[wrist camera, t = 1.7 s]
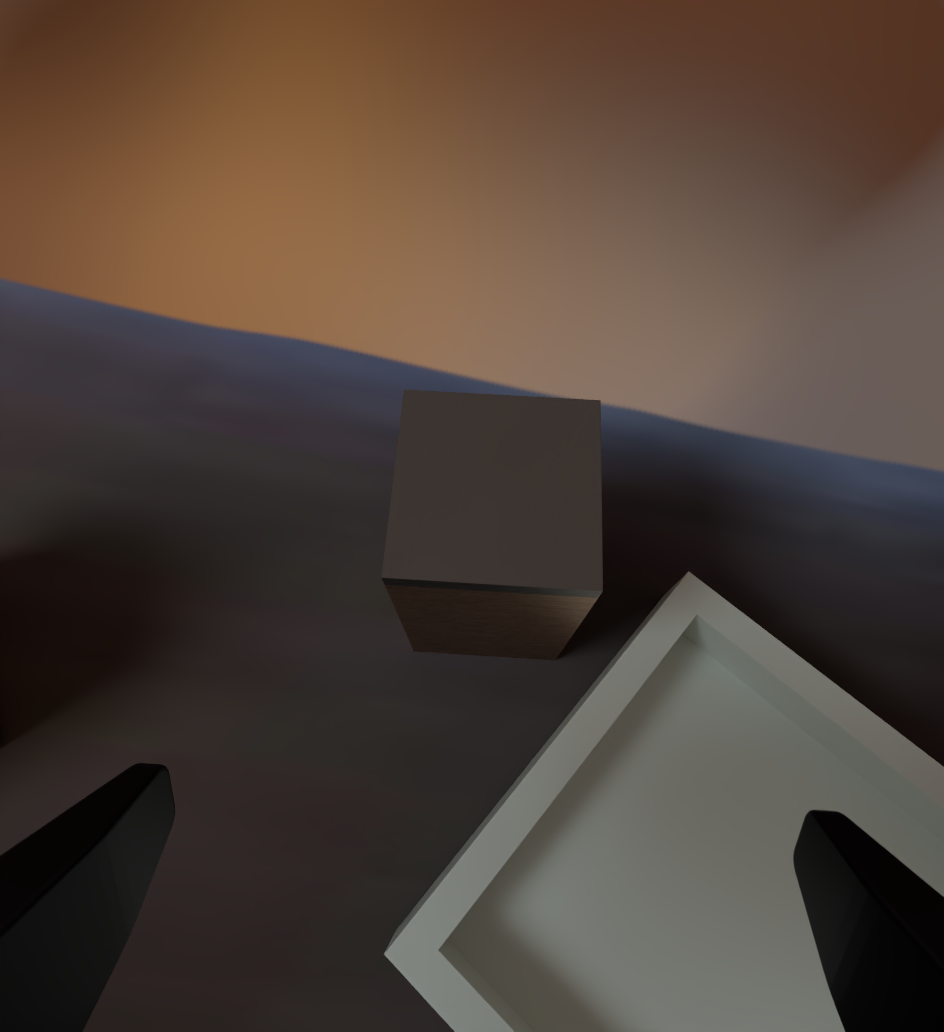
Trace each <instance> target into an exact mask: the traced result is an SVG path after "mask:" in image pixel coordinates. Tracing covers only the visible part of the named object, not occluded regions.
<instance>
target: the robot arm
mask: <svg viewBox="0 0 944 1032" xmlns="http://www.w3.org/2000/svg"><path fill="white" fill-rule="evenodd" d="M174 816H175V804H174V798H173V792H172V786H171V781H170V775H169V771H168V769H167V767H166V766H164V765H161V764H146V763H138V764H135V765H133V766H131V767H129V768H128V769H126V770H125V771H124V772H122V773H121V774H119V775H118V776H116V777H115V778H113V779H112V780H110V781H109V782H107V783H106V784H104V785H103V786H102V787H100V788H99V789H97V790H96V791H94V792H93V793H91V794H90V795H88V796H87V797H85V798H84V799H82V800H81V801H79V802H78V803H77V804H75V805H74V806H72V807H71V808H69V809H68V810H66V811H65V812H63V813H62V814H60V815H59V816H57V817H56V818H55V819H53V820H52V821H50V822H49V823H47V824H46V825H44V826H43V827H41V828H40V829H38V830H37V831H35V832H34V833H32V834H31V835H30V836H28V837H27V838H25V839H24V840H22V841H21V842H19V843H18V844H16V845H15V846H13V847H12V848H10V849H9V850H8V851H6V852H5V853H3V854H2V855H0V1032H82V1031H83V1029H84V1027H85V1025H86V1023H87V1021H88V1019H89V1017H90V1015H91V1013H92V1011H93V1009H94V1007H95V1005H96V1003H97V1001H98V999H99V997H100V995H101V993H102V991H103V989H104V987H105V985H106V983H107V981H108V979H109V977H110V975H111V973H112V971H113V969H114V967H115V965H116V963H117V961H118V959H119V957H120V955H121V953H122V951H123V949H124V946H125V944H126V942H127V940H128V938H129V936H130V933H131V931H132V928H133V926H134V923H135V921H136V919H137V916H138V913H139V911H140V908H141V906H142V903H143V900H144V898H145V895H146V893H147V890H148V887H149V885H150V882H151V880H152V877H153V874H154V872H155V869H156V867H157V864H158V861H159V859H160V856H161V854H162V851H163V849H164V846H165V843H166V841H167V838H168V836H169V833H170V830H171V828H172V825H173V821H174ZM793 864H794V870H795V873H796V877H797V880H798V884H799V887H800V891H801V894H802V898H803V901H804V905H805V909H806V912H807V916H808V919H809V923H810V926H811V930H812V933H813V937H814V940H815V944H816V947H817V951H818V954H819V958H820V961H821V965H822V968H823V971H824V975H825V978H826V981H827V984H828V988H829V991H830V993H831V996H832V999H833V1001H834V1004H835V1007H836V1010H837V1012H838V1015H839V1017H840V1020H841V1023H842V1025H843V1028H844V1030H845V1032H944V897H943V896H942V895H941V894H940V893H938V892H937V891H936V890H935V889H934V888H932V887H931V886H930V885H929V884H928V883H926V882H925V881H924V880H923V879H921V878H920V877H919V876H918V875H917V874H915V873H914V872H913V871H912V870H911V869H909V868H908V867H907V866H906V865H905V864H903V863H902V862H901V861H900V860H899V859H897V858H896V857H895V856H894V855H893V854H891V853H890V852H889V851H888V850H887V849H885V848H884V847H883V846H882V845H881V844H879V843H878V842H877V841H876V840H875V839H873V838H872V837H871V836H870V835H868V834H867V833H866V832H865V831H864V830H862V829H861V828H860V827H859V826H858V825H856V824H855V823H854V822H853V821H852V820H850V819H849V818H848V817H847V816H845V815H844V814H842V813H840V812H837V811H827V810H810V811H809V812H808V813H807V814H806V816H805V818H804V821H803V824H802V827H801V830H800V833H799V836H798V839H797V842H796V845H795V848H794V853H793Z"/></svg>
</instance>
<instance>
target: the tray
mask: <svg viewBox="0 0 944 1032" xmlns="http://www.w3.org/2000/svg"><path fill="white" fill-rule="evenodd" d="M810 810H827V811H837V812H840V813H842V814H844V815H845V816H847V817H848V818H849V819H850V820H852V821H853V822H854V823H855V824H856V825H858V826H859V827H860V828H861V829H862V830H864V831H865V832H866V833H867V834H868V835H870V836H871V837H872V838H873V839H875V840H876V841H877V842H878V843H879V844H881V845H882V846H883V847H884V848H885V849H887V850H888V851H889V852H890V853H891V854H893V855H894V856H895V857H896V858H897V859H899V860H900V861H901V862H902V863H903V864H905V865H906V866H907V867H908V868H909V869H911V870H912V871H913V872H914V873H915V874H917V875H918V876H919V877H920V878H921V879H923V880H924V881H925V882H926V883H928V884H929V885H930V886H931V887H932V888H934V889H935V890H936V891H937V892H938V893H940V894H941V895H942V896H943V897H944V767H943V766H942V765H941V764H939V763H938V762H937V761H935V760H934V759H933V758H931V757H930V756H929V755H928V754H926V753H925V752H924V751H922V750H921V749H920V748H918V747H917V746H916V745H914V744H913V743H912V742H911V741H909V740H908V739H907V738H905V737H904V736H903V735H901V734H900V733H899V732H898V731H896V730H895V729H894V728H892V727H891V726H890V725H888V724H887V723H886V722H884V721H883V720H882V719H881V718H879V717H878V716H877V715H875V714H874V713H873V712H871V711H870V710H869V709H868V708H866V707H865V706H864V705H862V704H861V703H860V702H858V701H857V700H856V699H854V698H853V697H852V696H851V695H849V694H848V693H847V692H845V691H844V690H843V689H841V688H840V687H839V686H838V685H836V684H835V683H834V682H832V681H831V680H830V679H828V678H827V677H826V676H824V675H823V674H822V673H821V672H819V671H818V670H817V669H815V668H814V667H813V666H811V665H810V664H809V663H808V662H806V661H805V660H804V659H802V658H801V657H800V656H798V655H797V654H796V653H794V652H793V651H792V650H791V649H789V648H788V647H787V646H785V645H784V644H783V643H781V642H780V641H779V640H778V639H776V638H775V637H774V636H772V635H771V634H770V633H768V632H767V631H766V630H764V629H763V628H762V627H761V626H759V625H758V624H757V623H755V622H754V621H753V620H751V619H750V618H749V617H747V616H746V615H745V614H744V613H742V612H741V611H740V610H738V609H737V608H736V607H734V606H733V605H732V604H731V603H729V602H728V601H727V600H725V599H724V598H723V597H721V596H720V595H719V594H717V593H716V592H715V591H714V590H712V589H711V588H710V587H708V586H707V585H706V584H704V583H703V582H702V581H701V580H699V579H698V578H697V577H695V576H694V575H693V574H691V573H690V572H687V573H686V574H685V575H684V576H683V577H682V578H681V579H680V580H679V581H678V582H677V583H676V584H675V585H674V586H673V587H672V588H671V589H670V590H669V591H668V592H667V593H666V594H665V595H664V596H663V597H662V598H661V599H660V601H659V602H658V603H657V604H656V606H655V607H654V608H653V609H652V611H651V612H650V613H649V614H648V616H647V617H646V618H645V619H644V621H643V622H642V623H641V624H640V626H639V627H638V628H637V629H636V631H635V632H634V633H633V634H632V636H631V637H630V638H629V639H628V641H627V642H626V643H625V644H624V646H623V647H622V648H621V649H620V651H619V652H618V653H617V654H616V656H615V657H614V658H613V659H612V661H611V662H610V663H609V664H608V666H607V667H606V668H605V669H604V671H603V672H602V673H601V674H600V676H599V677H598V678H597V679H596V681H595V682H594V683H593V684H592V686H591V687H590V688H589V689H588V691H587V692H586V693H585V694H584V696H583V697H582V698H581V699H580V701H579V702H578V703H577V704H576V706H575V707H574V708H573V709H572V711H571V712H570V713H569V714H568V716H567V717H566V718H565V719H564V721H563V722H562V723H561V724H560V726H559V727H558V728H557V729H556V731H555V732H554V733H553V734H552V736H551V737H550V738H549V739H548V741H547V742H546V743H545V744H544V746H543V747H542V748H541V749H540V751H539V752H538V753H537V754H536V756H535V757H534V758H533V759H532V761H531V762H530V763H529V764H528V766H527V767H526V768H525V769H524V771H523V772H522V773H521V774H520V776H519V777H518V778H517V779H516V781H515V782H514V783H513V784H512V786H511V787H510V788H509V789H508V791H507V792H506V793H505V794H504V796H503V797H502V798H501V799H500V801H499V802H498V803H497V804H496V806H495V807H494V808H493V809H492V811H491V812H490V813H489V814H488V816H487V817H486V818H485V819H484V821H483V822H482V823H481V824H480V826H479V827H478V828H477V829H476V831H475V832H474V833H473V834H472V836H471V837H470V838H469V839H468V841H467V842H466V843H465V844H464V846H463V847H462V848H461V849H460V851H459V852H458V853H457V855H456V856H455V857H454V858H453V860H452V861H451V862H450V863H449V865H448V866H447V867H446V868H445V870H444V871H443V872H442V873H441V875H440V876H439V877H438V878H437V880H436V881H435V882H434V883H433V885H432V886H431V887H430V888H429V890H428V891H427V892H426V893H425V895H424V896H423V897H422V898H421V900H420V901H419V902H418V903H417V905H416V906H415V907H414V908H413V910H412V911H411V912H410V913H409V915H408V916H407V917H406V918H405V920H404V921H403V922H402V923H401V925H400V926H399V927H398V928H397V930H396V931H395V933H394V935H393V937H392V939H391V941H390V943H389V945H388V947H387V949H386V951H385V953H384V955H385V956H386V957H387V958H388V959H389V960H390V961H391V962H392V963H393V964H394V966H395V967H396V968H397V969H398V970H399V971H400V972H401V973H402V974H403V975H404V977H405V978H406V979H407V980H408V981H409V982H410V983H411V984H412V985H413V986H414V987H415V989H416V990H417V991H418V992H419V993H420V994H421V995H422V996H423V997H424V998H425V1000H426V1001H427V1002H428V1003H429V1004H430V1005H431V1006H432V1007H433V1008H434V1009H435V1010H436V1012H437V1013H438V1014H439V1015H440V1016H441V1017H442V1018H443V1019H444V1020H445V1021H446V1023H447V1024H448V1025H449V1026H450V1027H451V1028H452V1029H453V1030H454V1031H455V1032H845V1030H844V1028H843V1025H842V1023H841V1020H840V1017H839V1015H838V1012H837V1010H836V1007H835V1004H834V1001H833V999H832V996H831V993H830V991H829V988H828V984H827V981H826V978H825V975H824V971H823V968H822V965H821V961H820V958H819V954H818V951H817V947H816V944H815V940H814V937H813V933H812V930H811V926H810V923H809V919H808V916H807V912H806V909H805V905H804V901H803V898H802V894H801V891H800V887H799V884H798V880H797V877H796V873H795V870H794V864H793V853H794V848H795V845H796V842H797V839H798V836H799V833H800V830H801V827H802V824H803V821H804V818H805V816H806V814H807V813H808V812H809V811H810Z"/></svg>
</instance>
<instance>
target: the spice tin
mask: <svg viewBox="0 0 944 1032" xmlns="http://www.w3.org/2000/svg"><path fill="white" fill-rule="evenodd" d="M382 580H383V582H384V584H385V587H386V589H387V591H388V593H389V596H390V598H391V600H392V603H393V605H394V607H395V609H396V612H397V614H398V616H399V619H400V621H401V623H402V625H403V628H404V630H405V632H406V635H407V637H408V639H409V641H410V644H411V646H412V648H413V651H417V652H433V653H448V654H464V655H480V656H495V657H511V658H527V659H542V660H556V658H557V657H558V655H559V654H560V653H561V651H562V650H563V648H564V647H565V645H566V644H567V642H568V641H569V640H570V638H571V637H572V635H573V634H574V632H575V631H576V629H577V628H578V627H579V625H580V624H581V622H582V621H583V619H584V618H585V616H586V615H587V614H588V612H589V611H590V609H591V608H592V606H593V605H594V603H595V602H596V600H597V599H598V598H599V596H600V595H601V593H602V592H603V558H602V483H601V407H600V400H583V399H565V398H547V397H528V396H510V395H492V394H473V393H455V392H437V391H418V390H404V395H403V403H402V412H401V420H400V428H399V437H398V445H397V453H396V462H395V470H394V478H393V487H392V495H391V503H390V512H389V520H388V528H387V537H386V545H385V553H384V562H383V570H382Z"/></svg>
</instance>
